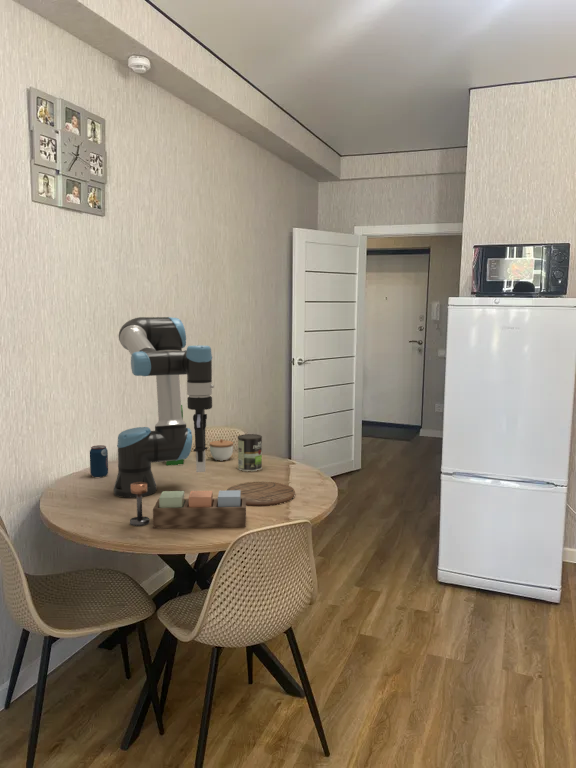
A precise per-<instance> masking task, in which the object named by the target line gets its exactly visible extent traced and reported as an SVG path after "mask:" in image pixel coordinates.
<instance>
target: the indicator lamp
mask: <svg viewBox="0 0 576 768" xmlns="http://www.w3.org/2000/svg"><path fill="white" fill-rule="evenodd" d="M146 492H147V483H146V482H135V483H132V484H131V493H132V494H137V497H136V516H135V517H132V518H131V519H130V520H129V525H130V526H132V527H133V526H134V527H143V526H147V525H149V524H150V522H151V521H150V517H148V516H143V497H142V494H143V493H146Z"/></svg>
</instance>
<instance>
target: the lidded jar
mask: <svg viewBox="0 0 576 768" xmlns="http://www.w3.org/2000/svg"><path fill="white" fill-rule="evenodd" d="M233 450H234V442H233V441H231V440H227V439H226V440H224V439H223V438H220V439H219V440H213V441H210V442H209V452H210V454H211V457H212V458H213V459H214V460H215V461H217V460H220V461H219V462H223V460H226V461H228V460H229V459H230V458H231V457H232V455H233V452H234V451H233Z"/></svg>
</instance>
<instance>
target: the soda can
mask: <svg viewBox="0 0 576 768" xmlns="http://www.w3.org/2000/svg"><path fill="white" fill-rule="evenodd" d="M108 453H109V452H108V448H107V446H106V445H92V446H90V450H89V471H90V472H89V473H90V475H91V477H92V476H93V477H92V478H95V477H100V478H104V477H103V476H105V477H107V476H108V474H109V454H108ZM106 475H107V476H106Z"/></svg>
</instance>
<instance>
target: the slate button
mask: <svg viewBox="0 0 576 768" xmlns="http://www.w3.org/2000/svg"><path fill="white" fill-rule="evenodd" d="M217 498H218V507H240V504H241V490H227V489H226V490H218V495H217Z"/></svg>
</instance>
